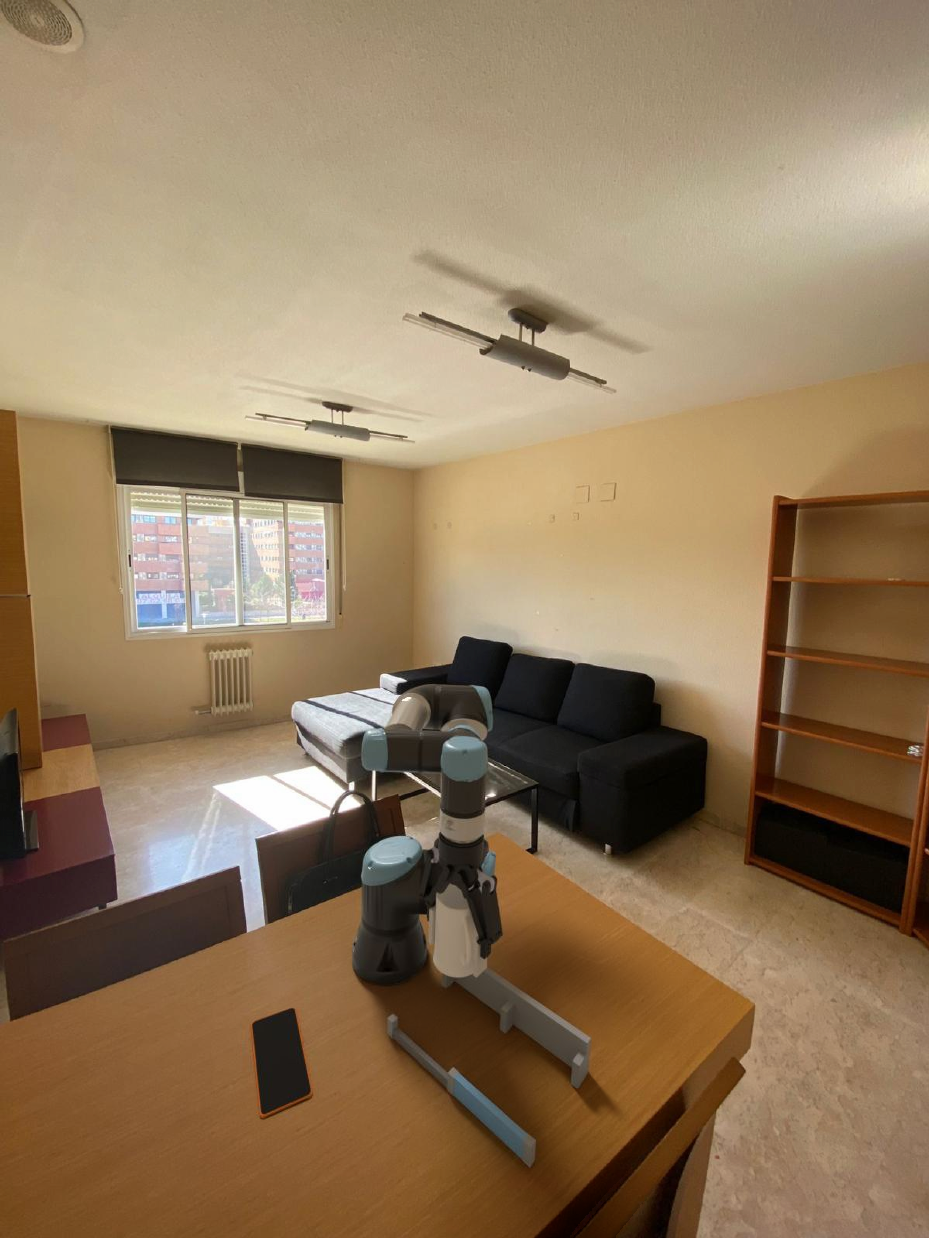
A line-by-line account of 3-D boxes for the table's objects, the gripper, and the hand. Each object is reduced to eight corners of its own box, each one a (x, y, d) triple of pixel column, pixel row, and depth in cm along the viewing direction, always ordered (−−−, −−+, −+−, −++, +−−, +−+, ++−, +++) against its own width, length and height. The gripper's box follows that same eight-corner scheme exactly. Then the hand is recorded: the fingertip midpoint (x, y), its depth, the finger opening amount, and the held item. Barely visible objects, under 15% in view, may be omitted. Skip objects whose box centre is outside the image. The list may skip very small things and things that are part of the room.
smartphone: (260, 1122, 72) (259, 1117, 72) (250, 1025, 87) (250, 1021, 86) (314, 1098, 75) (314, 1093, 75) (296, 1009, 90) (296, 1004, 90)
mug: (489, 992, 81) (492, 923, 79) (436, 996, 80) (438, 927, 78) (477, 937, 92) (480, 877, 91) (431, 940, 91) (433, 879, 90)
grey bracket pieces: (387, 1034, 86) (388, 1001, 85) (454, 973, 99) (455, 945, 98) (529, 1167, 67) (532, 1128, 67) (588, 1071, 80) (590, 1037, 80)
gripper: (399, 816, 88) (396, 934, 90) (502, 870, 74) (495, 1008, 76) (429, 801, 93) (425, 912, 96) (530, 849, 79) (523, 977, 82)
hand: (456, 954), depth 86 cm, fingers closed on mug, 9 cm apart
